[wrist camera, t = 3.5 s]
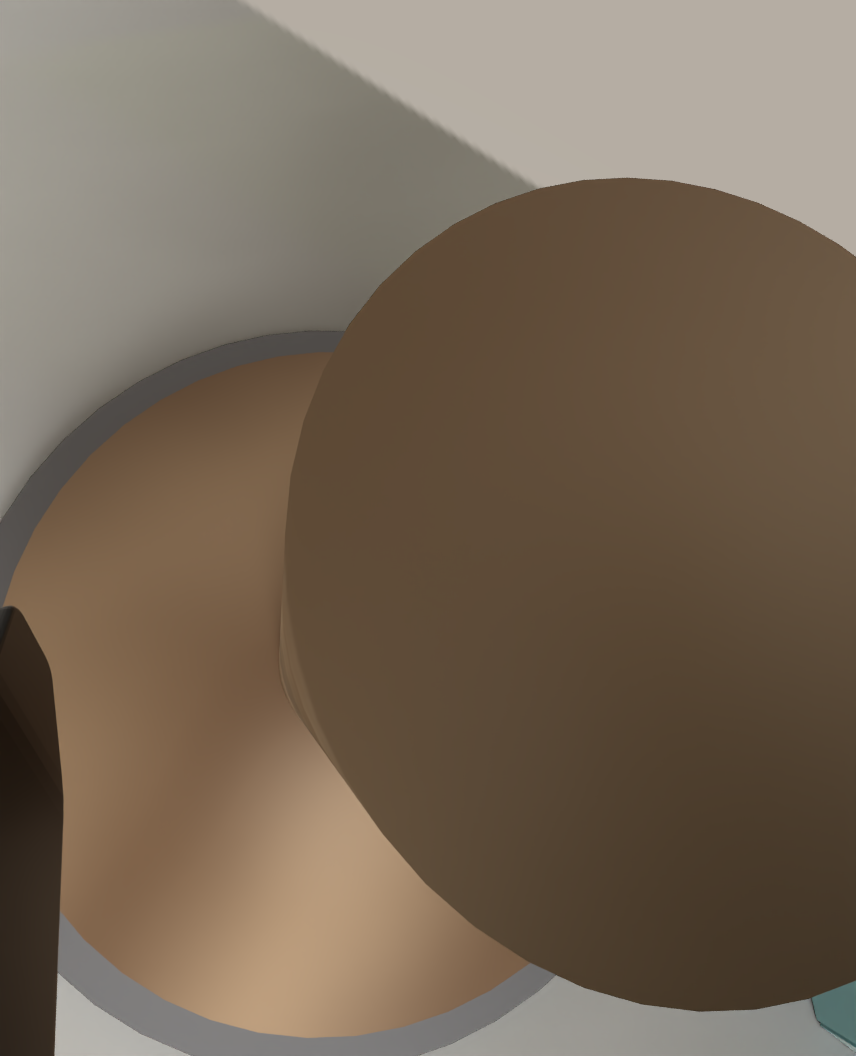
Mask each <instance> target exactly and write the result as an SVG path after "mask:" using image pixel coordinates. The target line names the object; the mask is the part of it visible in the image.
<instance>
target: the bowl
mask: <svg viewBox="0 0 856 1056" xmlns="http://www.w3.org/2000/svg"><path fill="white" fill-rule="evenodd" d="M812 1001H813V1006H814V1010H815V1015H816V1019H817V1020H818V1021H819V1022H821V1024H820V1026H821V1027H823V1028H824V1029H825V1030H827V1031H828V1032H829V1033H830V1034H832V1035H833V1036H834V1037H836V1038H837V1039H838V1040H840V1041H841V1042H842V1043H843V1044H845V1045H846V1046H847V1047H849V1048H850V1049H851V1050H852V1051H854V1052H855V1053H856V981H854V982H851V983H848V984H846V985H843V986H841V987H838V988H835V989H833V990H830V991H828V992H825V993H822V994H820V995H817V996H814V997H812Z"/></svg>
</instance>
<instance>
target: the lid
mask: <svg viewBox="0 0 856 1056" xmlns="http://www.w3.org/2000/svg"><path fill="white" fill-rule="evenodd" d="M10 605H11V606H14V607H16V608H18V609H19V610H20V611H21V612H22V614H23V616H24V617H25V619H26V621H27V623H28V625H29V627H30V628H31V630H32V632H33V634H34V636H35V638H36V640H37V641H38V643H39V645H40V647H41V649H42V651H43V653H44V654H45V656H46V658H47V661H48V663H49V666H50V669H51V674H52V679H53V689H54V699H55V710H56V720H57V730H58V740H59V750H60V760H61V770H62V782H63V795H64V820H63V846H62V871H61V897H60V912H61V913H62V914H63V915H64V916H65V917H66V919H67V920H68V921H69V922H70V923H71V925H72V926H73V927H74V928H75V929H76V931H77V932H78V933H79V934H80V935H81V937H82V938H83V939H84V940H85V941H86V942H87V943H88V944H90V945H91V946H92V947H93V948H94V949H95V950H96V951H98V952H99V953H100V954H101V955H102V956H103V957H104V958H106V959H107V960H108V961H109V962H110V963H111V964H112V965H114V966H115V967H116V968H117V969H118V970H119V971H120V972H122V973H123V974H124V975H126V976H128V977H129V978H131V979H132V980H134V981H135V982H137V983H139V984H140V985H142V986H143V987H145V988H146V989H148V990H150V991H151V992H153V993H154V994H156V995H158V996H159V997H161V998H162V999H164V1000H166V1001H168V1002H170V1003H173V1004H175V1005H177V1006H180V1007H182V1008H184V1009H186V1010H189V1011H191V1012H193V1013H196V1014H198V1015H200V1016H202V1017H205V1018H207V1019H209V1020H212V1021H216V1022H220V1023H224V1024H228V1025H231V1026H235V1027H239V1028H243V1029H246V1030H250V1031H254V1032H258V1033H266V1034H276V1035H285V1036H294V1037H303V1038H318V1037H343V1036H358V1035H364V1034H369V1033H374V1032H380V1031H385V1030H390V1029H396V1028H401V1027H405V1026H408V1025H411V1024H414V1023H417V1022H420V1021H423V1020H426V1019H428V1018H431V1017H434V1016H437V1015H440V1014H443V1013H446V1012H449V1011H451V1010H453V1009H455V1008H457V1007H459V1006H461V1005H463V1004H465V1003H467V1002H469V1001H471V1000H473V999H475V998H477V997H479V996H481V995H483V994H485V993H487V992H489V991H491V990H492V989H494V988H495V987H496V986H498V985H499V984H501V983H502V982H504V981H505V980H507V979H508V978H509V977H511V976H512V975H514V974H515V973H517V972H518V971H520V970H521V969H523V968H524V967H525V966H527V965H528V964H530V963H532V964H534V965H536V966H538V967H540V968H542V969H545V970H547V971H549V972H551V973H553V974H555V975H558V976H560V977H562V978H564V979H566V980H568V981H571V982H573V983H575V984H577V985H579V986H581V987H584V988H587V989H590V990H594V991H597V992H601V993H604V994H608V995H611V996H615V997H618V998H622V999H625V1000H628V1001H632V1002H635V1003H639V1004H643V1005H651V1006H659V1007H667V1008H675V1009H683V1010H691V1011H699V1012H700V1011H727V1010H754V1009H760V1008H765V1007H770V1006H775V1005H780V1004H785V1003H790V1002H795V1001H799V1000H804V999H809V998H812V997H814V996H817V995H820V994H822V993H825V992H828V991H830V990H833V989H835V988H838V987H841V986H843V985H846V984H848V983H851V982H854V981H856V257H855V256H854V255H852V254H851V253H850V252H849V251H847V250H846V249H844V248H843V247H842V246H840V245H839V244H837V243H836V242H834V241H832V240H830V239H829V238H827V237H825V236H824V235H822V234H820V233H818V232H817V231H815V230H813V229H812V228H810V227H808V226H806V225H805V224H803V223H801V222H799V221H797V220H795V219H793V218H791V217H788V216H786V215H784V214H782V213H779V212H777V211H775V210H773V209H770V208H768V207H766V206H764V205H762V204H759V203H757V202H753V201H750V200H747V199H744V198H741V197H738V196H735V195H731V194H728V193H725V192H722V191H719V190H716V189H711V188H706V187H701V186H695V185H690V184H685V183H680V182H675V181H666V180H652V179H638V178H614V179H596V180H582V181H576V182H571V183H566V184H560V185H555V186H550V187H545V188H540V189H536V190H533V191H530V192H527V193H524V194H521V195H518V196H515V197H513V198H510V199H507V200H504V201H501V202H498V203H495V204H493V205H491V206H489V207H487V208H485V209H483V210H481V211H479V212H477V213H475V214H473V215H471V216H469V217H467V218H465V219H463V220H461V221H459V222H458V223H456V224H454V225H452V226H451V227H449V228H448V229H447V230H445V231H444V232H442V233H441V234H440V235H438V236H437V237H435V238H434V239H432V240H431V241H430V242H428V243H427V244H425V245H424V246H423V247H421V248H420V249H418V250H417V251H415V252H414V253H413V254H412V255H411V256H410V257H409V258H408V259H407V260H406V261H405V262H404V263H403V264H402V265H401V266H400V267H399V268H398V269H397V270H395V271H394V272H393V273H392V274H391V275H390V276H389V277H388V278H387V279H386V280H385V281H384V282H383V283H382V284H381V285H380V286H379V287H378V289H377V290H376V291H375V292H374V294H373V295H372V296H371V297H370V299H369V300H368V301H367V303H366V304H365V305H364V306H363V308H362V309H361V310H360V312H359V313H358V314H357V315H356V317H355V318H354V319H353V320H352V322H351V323H350V324H349V326H348V328H347V329H346V331H345V333H344V335H343V337H342V338H341V340H340V342H339V344H338V345H337V347H336V349H335V351H334V352H315V353H306V354H296V355H287V356H278V357H274V358H269V359H265V360H261V361H257V362H252V363H248V364H244V365H239V366H236V367H233V368H231V369H228V370H225V371H223V372H220V373H217V374H214V375H212V376H209V377H206V378H204V379H201V380H198V381H196V382H194V383H192V384H190V385H188V386H187V387H185V388H183V389H181V390H179V391H177V392H175V393H173V394H171V395H169V396H167V397H165V398H163V399H161V400H160V401H158V402H157V403H155V404H154V405H152V406H151V407H149V408H148V409H147V410H145V411H144V412H142V413H141V414H139V415H138V416H136V417H135V418H133V419H132V420H131V421H129V422H128V423H126V424H125V425H123V426H122V427H121V428H120V429H119V430H118V431H117V432H116V433H114V434H113V435H112V436H111V437H110V438H109V439H108V440H107V441H106V442H104V443H103V444H102V445H101V446H100V447H99V448H98V449H97V450H95V451H94V452H93V453H92V454H91V455H90V456H89V457H88V458H87V460H86V461H85V462H84V463H83V464H82V465H81V466H80V468H79V469H78V470H77V471H76V472H75V473H74V475H73V476H72V477H71V478H70V479H69V480H68V482H67V483H66V484H65V485H64V486H63V487H62V488H61V490H60V491H59V493H58V494H57V496H56V497H55V499H54V500H53V502H52V503H51V505H50V506H49V508H48V509H47V511H46V512H45V514H44V516H43V517H42V519H41V520H40V522H39V523H38V525H37V526H36V528H35V529H34V532H33V534H32V536H31V538H30V540H29V542H28V544H27V546H26V548H25V550H24V552H23V554H22V556H21V558H20V561H19V563H18V565H17V567H16V569H15V571H14V574H13V577H12V580H11V583H10V586H9V589H8V592H7V595H6V598H5V601H4V605H3V607H4V606H10Z"/></svg>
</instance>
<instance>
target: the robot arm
mask: <svg viewBox="0 0 856 1056" xmlns="http://www.w3.org/2000/svg"><path fill="white" fill-rule="evenodd" d="M63 820H64V795H63V782H62V770H61V760H60V750H59V740H58V730H57V720H56V710H55V699H54V689H53V679H52V674H51V669H50V666H49V663H48V661H47V658H46V656H45V654H44V653H43V651H42V649H41V647H40V645H39V643H38V641H37V640H36V638H35V636H34V634H33V632H32V630H31V628H30V627H29V625H28V623H27V621H26V619H25V617H24V616H23V614H22V612H21V611H20V610H19V609H18V608H16V607H14V606H11V605H10V606H4V607H1V608H0V1056H54V1050H55V1025H56V999H57V974H58V948H59V923H60V897H61V871H62V846H63Z"/></svg>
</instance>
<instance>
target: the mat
mask: <svg viewBox="0 0 856 1056" xmlns="http://www.w3.org/2000/svg"><path fill="white" fill-rule="evenodd" d="M344 333H345V332H342V331H305V332H295V333H285V334H275V335H266V336H262V337H257V338H253V339H249V340H244V341H240V342H235V343H231V344H226V345H223V346H220V347H217V348H214V349H211V350H209V351H206V352H203V353H200V354H198V355H195V356H192V357H189V358H186V359H184V360H181V361H179V362H177V363H175V364H173V365H171V366H169V367H167V368H165V369H163V370H161V371H159V372H157V373H155V374H153V375H151V376H149V377H147V378H145V379H143V380H141V381H139V382H138V383H136V384H135V385H133V386H132V387H130V388H129V389H127V390H126V391H124V392H123V393H121V394H120V395H119V396H117V397H116V398H114V399H113V400H111V401H110V402H108V403H107V404H105V405H104V406H102V407H101V408H99V409H98V410H97V411H96V412H95V413H94V414H93V415H91V416H90V417H89V418H88V419H87V420H86V421H85V422H83V423H82V424H81V425H80V426H79V427H78V428H77V429H75V430H74V431H73V432H72V433H71V434H70V435H69V436H67V437H66V438H65V439H64V440H63V441H62V442H61V443H60V444H59V446H58V447H57V448H56V449H55V450H54V451H53V452H52V453H51V455H50V456H49V457H48V458H47V459H46V460H45V461H44V463H43V464H42V465H41V466H40V467H39V468H38V469H37V470H36V472H35V473H34V474H33V475H32V476H31V477H30V479H29V480H28V482H27V483H26V485H25V486H24V488H23V489H22V491H21V492H20V494H19V495H18V496H17V498H16V499H15V501H14V502H13V504H12V505H11V507H10V508H9V510H8V511H7V513H6V514H5V516H4V517H3V519H2V521H1V523H0V608H1V607H3V605H4V601H5V598H6V595H7V592H8V589H9V586H10V583H11V580H12V577H13V574H14V571H15V569H16V567H17V565H18V563H19V561H20V558H21V556H22V554H23V552H24V550H25V548H26V546H27V544H28V542H29V540H30V538H31V536H32V534H33V532H34V529H35V528H36V526H37V525H38V523H39V522H40V520H41V519H42V517H43V516H44V514H45V512H46V511H47V509H48V508H49V506H50V505H51V503H52V502H53V500H54V499H55V497H56V496H57V494H58V493H59V491H60V490H61V488H62V487H63V486H64V485H65V484H66V483H67V482H68V480H69V479H70V478H71V477H72V476H73V475H74V473H75V472H76V471H77V470H78V469H79V468H80V466H81V465H82V464H83V463H84V462H85V461H86V460H87V458H88V457H89V456H90V455H91V454H92V453H93V452H94V451H95V450H97V449H98V448H99V447H100V446H101V445H102V444H103V443H104V442H106V441H107V440H108V439H109V438H110V437H111V436H112V435H113V434H114V433H116V432H117V431H118V430H119V429H120V428H121V427H122V426H123V425H125V424H126V423H128V422H129V421H131V420H132V419H133V418H135V417H136V416H138V415H139V414H141V413H142V412H144V411H145V410H147V409H148V408H149V407H151V406H152V405H154V404H155V403H157V402H158V401H160V400H161V399H163V398H165V397H167V396H169V395H171V394H173V393H175V392H177V391H179V390H181V389H183V388H185V387H187V386H188V385H190V384H192V383H194V382H196V381H198V380H201V379H204V378H206V377H209V376H212V375H214V374H217V373H220V372H223V371H225V370H228V369H231V368H233V367H236V366H239V365H244V364H248V363H252V362H257V361H261V360H265V359H269V358H274V357H278V356H287V355H296V354H306V353H315V352H334V351H335V349H336V347H337V345H338V344H339V342H340V340H341V338H342V337H343V335H344ZM58 973H59V974H60V975H61V976H62V977H63V978H65V979H66V980H67V981H68V982H69V983H70V984H71V985H73V986H74V987H75V988H76V989H77V990H78V991H79V992H81V993H82V994H83V995H84V996H85V997H86V998H87V999H89V1000H90V1001H91V1002H92V1003H93V1004H94V1005H96V1006H97V1007H99V1008H101V1009H102V1010H104V1011H105V1012H107V1013H109V1014H110V1015H112V1016H113V1017H115V1018H116V1019H118V1020H120V1021H121V1022H123V1023H124V1024H126V1025H128V1026H129V1027H131V1028H132V1029H134V1030H136V1031H137V1032H139V1033H140V1034H142V1035H145V1036H147V1037H149V1038H152V1039H154V1040H156V1041H159V1042H161V1043H163V1044H166V1045H168V1046H170V1047H173V1048H175V1049H177V1050H180V1051H182V1052H184V1053H187V1054H189V1055H191V1056H419V1055H421V1054H424V1053H427V1052H430V1051H433V1050H436V1049H438V1048H441V1047H444V1046H447V1045H450V1044H452V1043H454V1042H456V1041H458V1040H460V1039H462V1038H464V1037H466V1036H468V1035H470V1034H471V1033H473V1032H475V1031H477V1030H479V1029H481V1028H483V1027H485V1026H487V1025H489V1024H491V1023H493V1022H495V1021H497V1020H498V1019H500V1018H501V1017H502V1016H504V1015H505V1014H507V1013H508V1012H509V1011H511V1010H512V1009H514V1008H515V1007H517V1006H518V1005H519V1004H521V1003H522V1002H524V1001H525V1000H527V999H528V998H529V997H531V996H532V995H534V994H535V993H536V992H538V991H539V990H540V989H541V988H542V987H543V986H545V985H546V984H547V983H548V982H549V981H550V980H551V979H552V978H553V977H554V976H555V974H553V973H551V972H549V971H547V970H545V969H542V968H540V967H538V966H536V965H534V964H532V963H530V964H528V965H527V966H525V967H524V968H523V969H521V970H520V971H518V972H517V973H515V974H514V975H512V976H511V977H509V978H508V979H507V980H505V981H504V982H502V983H501V984H499V985H498V986H496V987H495V988H494V989H492V990H491V991H489V992H487V993H485V994H483V995H481V996H479V997H477V998H475V999H473V1000H471V1001H469V1002H467V1003H465V1004H463V1005H461V1006H459V1007H457V1008H455V1009H453V1010H451V1011H449V1012H446V1013H443V1014H440V1015H437V1016H434V1017H431V1018H428V1019H426V1020H423V1021H420V1022H417V1023H414V1024H411V1025H408V1026H405V1027H401V1028H396V1029H390V1030H385V1031H380V1032H374V1033H369V1034H364V1035H358V1036H343V1037H318V1038H303V1037H294V1036H285V1035H276V1034H266V1033H258V1032H254V1031H250V1030H246V1029H243V1028H239V1027H235V1026H231V1025H228V1024H224V1023H220V1022H216V1021H212V1020H209V1019H207V1018H205V1017H202V1016H200V1015H198V1014H196V1013H193V1012H191V1011H189V1010H186V1009H184V1008H182V1007H180V1006H177V1005H175V1004H173V1003H170V1002H168V1001H166V1000H164V999H162V998H161V997H159V996H158V995H156V994H154V993H153V992H151V991H150V990H148V989H146V988H145V987H143V986H142V985H140V984H139V983H137V982H135V981H134V980H132V979H131V978H129V977H128V976H126V975H124V974H123V973H122V972H120V971H119V970H118V969H117V968H116V967H115V966H114V965H112V964H111V963H110V962H109V961H108V960H107V959H106V958H104V957H103V956H102V955H101V954H100V953H99V952H98V951H96V950H95V949H94V948H93V947H92V946H91V945H90V944H88V943H87V942H86V941H85V940H84V939H83V938H82V937H81V935H80V934H79V933H78V932H77V931H76V929H75V928H74V927H73V926H72V925H71V923H70V922H69V921H68V920H67V919H66V917H65V916H64V915H63V914H62V913H61V912H60V923H59V948H58Z"/></svg>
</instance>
